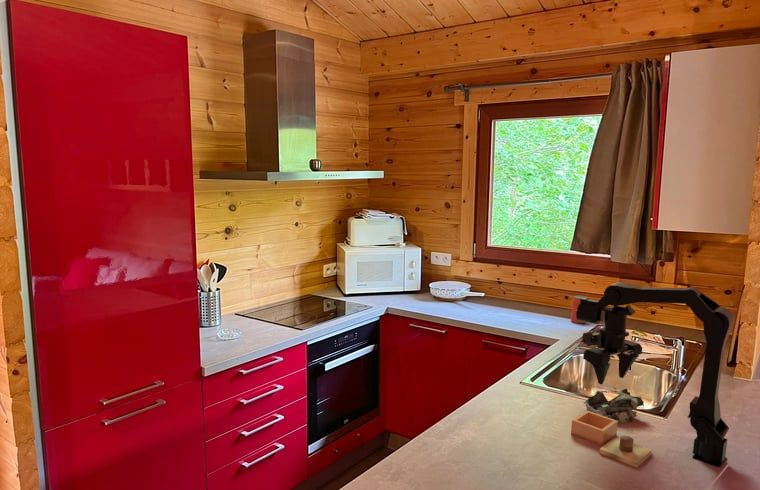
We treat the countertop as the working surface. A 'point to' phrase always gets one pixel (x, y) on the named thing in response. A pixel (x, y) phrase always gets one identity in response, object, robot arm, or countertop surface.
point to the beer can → (574, 308)
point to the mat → (628, 464)
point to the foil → (614, 405)
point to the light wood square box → (594, 427)
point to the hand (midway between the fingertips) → (611, 380)
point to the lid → (626, 451)
